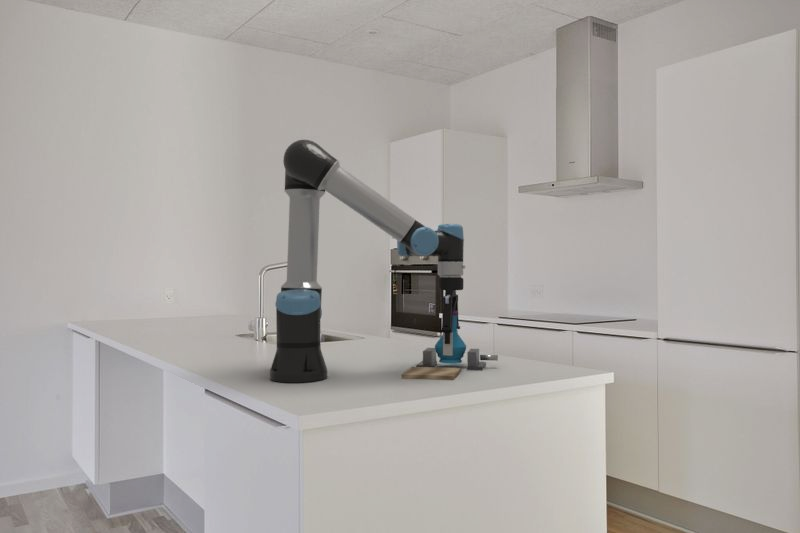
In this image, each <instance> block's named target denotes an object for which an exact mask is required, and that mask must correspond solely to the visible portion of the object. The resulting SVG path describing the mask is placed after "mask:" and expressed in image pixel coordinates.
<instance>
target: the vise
mask: <svg viewBox="0 0 800 533" xmlns="http://www.w3.org/2000/svg"><path fill="white" fill-rule="evenodd" d="M466 353H467V357H466V358H467V361H466V362H467V366H466V371H483V370H484V369H485V367H486V366H487V362H486V361H496V362H497V361H498V360H499V355H498V354H480V348H469V350H467V352H466ZM436 365H438V361H437V353H436V350H435V347H427V348H425V349H424V350H422V360H421V361H420V362H418V363H417V364H416V365H415V367H435V366H436Z"/></svg>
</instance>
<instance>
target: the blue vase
mask: <svg viewBox="0 0 800 533" xmlns="http://www.w3.org/2000/svg"><path fill="white" fill-rule="evenodd" d="M456 314H458V315H459V311H458V312H457V311H454V312H453V323H452V333H453V355H452V356H449V355H443V334H442V335H441V336H440V338H439V339H438V341H437V342H436V344H435V345H434V348H435V350H436V356H437V357H438V358H439V360H438V362H439V363H442V364H461V363H462V362H463V361H462V358H463V357H464V355H465V353H466V350H467V345H466V343H465V342H464V341H463V339H462V338H461V336H460V335H459V333H457V315H456Z"/></svg>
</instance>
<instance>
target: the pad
mask: <svg viewBox="0 0 800 533" xmlns="http://www.w3.org/2000/svg"><path fill="white" fill-rule="evenodd" d="M461 372H462V368H461V367H443V366H442V367H440V366H439V367H437V366H436V367H435V366H434V367H416V366H411V367H410V368H409V369H407V370H406V371H405V372H403V373H402V374H401V379H411V380H413V379H416V380H418V379H419V380H443V381H444V380H446V381H454V380H456V378H457V377H458V376H459V375H460V374H461Z"/></svg>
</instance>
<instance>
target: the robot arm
mask: <svg viewBox="0 0 800 533" xmlns="http://www.w3.org/2000/svg"><path fill="white" fill-rule="evenodd" d="M282 162H283V167H284V170H285V171H284V172H285V173H284V193H285V194H286V195H287V196H288V198H289V205H288V206H289V209H288V210H289V212H288V233H287V234H288V235H287V236H288V238H287V262H286V263H287V265H286V266H287V267H286V280H285V282H284V283H283V284H282V285H281V287H280V292H279V293H277V294H276V297H275V298H276V300H275V308H276V310H275V311H276V314H275V315H276V321H275V322H276V351H275V354H274V357H273V360H272V364H271V367H270V370H269V374H270V375H269V376H270V378H269V379H270V380H271V381H274V382H277V383H308V382H310V383H311V382H316V381H322V380H325V379H327V378H328V368H327V364H326V362H325V359H324V358H325V357H324V355H323V352H322V349H321V318H322V315H323V312H322V311H323V310H322V297H323V296H322V293H323V292H322V289H323V287H322V286H321V285H320V284H319V283H318V261H319V260H318V258H319V257H318V256H319V255H318V254H319V230H320V228H319V227H320V224H319V223H320V200H321V198H322V197H324V196H325V194H326V192H327V193H328V194H330V195H331V196H333V197H334V198H335V199H337V200H338V201H339V202H342V203H343V204H344V205H346V206H347V207H348V208H350V209H351V210H353V211H354V212H356V213H357V214H359V215H360V216H362V217H363V218H365V219H366V220H368V221H369V222H370V223H372V224H373V225H375V226H376V227H378V228H379V229H380V230H382V231H383V232H385V233H386V234H387V235H389V236H390V237H391V238H393V239H395V240H396V246H397V247H396V249H397V250H396V251H397V253H398V256H400V257H409V258H410V257H437V275H438V276H439V277H438V278H437V290H439V291H445V292H444V295H443V296H442V315H441V316H442V318H441V329H440V330H439V332H440V333H442V335H443V355H449V356H452V355H453V333H452V323H453V312H454V311H457V312H458V314H456V315H457V333H458V331H459V330H461V326H460V323H459V294H457V291H463V290H464V278H463V277H462V276H464V269H466V265H464V247H465V246H464V243H465V242H464V241H465V239H464V238H465V237H464V228H463V225H462V224H458V223H440V224H438V226H437V229H436V230H434V229H432V228H431V227H429V226H426V225H424V224H422V223H421V222H420V221H418V220H416V219H415V218H414V217H412V215H410V214H408V213H407V212H405V211H404V210H402V209H401V208H399V207H398V206H397V205H395V204H394V203H393V202H392V201H390V200H388V199H387V198H386V197H384V196H383V195H381V194H380V193H379V192H376V191H375V190H374V189H373V188H371V187H370V186H368V185H367V184H366V183H364V182H363V181H361V179H358V178H357V177H356V176H354V175H353V174H351V173H350V172H348V171H347V170H345V168H343V167H341V166H340V161H339V160H338V159H336V158H335V157H334V156H333V155H331V154H330V153H329V152H328V151H326V150H325V149H324V148H323V147H322V146H320V144H318V143H317V142H314V141H313V140H309V139H298V140H295V141H294V142H292V143H291V144H290V145H289V146H287V148H286V149H285V150H284V155H283V161H282ZM458 334H459V333H458Z"/></svg>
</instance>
